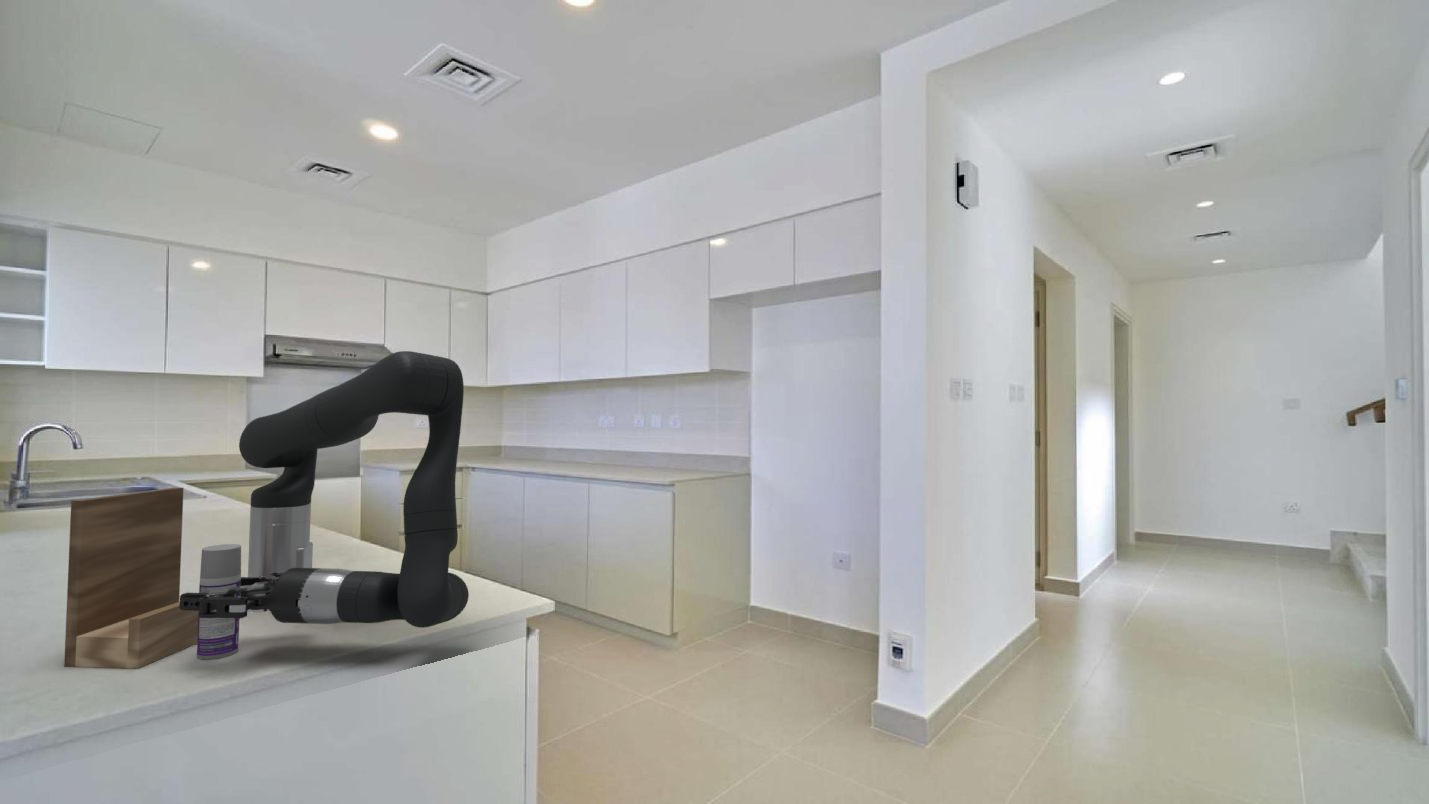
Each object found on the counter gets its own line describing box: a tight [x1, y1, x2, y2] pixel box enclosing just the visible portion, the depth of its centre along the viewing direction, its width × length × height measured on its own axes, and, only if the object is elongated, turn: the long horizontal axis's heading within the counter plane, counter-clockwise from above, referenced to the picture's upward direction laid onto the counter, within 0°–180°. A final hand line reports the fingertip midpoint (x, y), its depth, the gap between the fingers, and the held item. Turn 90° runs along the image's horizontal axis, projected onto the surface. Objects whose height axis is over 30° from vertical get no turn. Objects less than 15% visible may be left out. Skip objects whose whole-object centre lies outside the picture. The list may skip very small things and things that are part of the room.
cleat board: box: [63, 487, 198, 670], centre depth 93 cm, size 10×16×22 cm, turn 179°
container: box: [196, 543, 242, 660], centre depth 91 cm, size 5×5×15 cm
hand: (207, 592), depth 91 cm, fingers open, 8 cm apart
